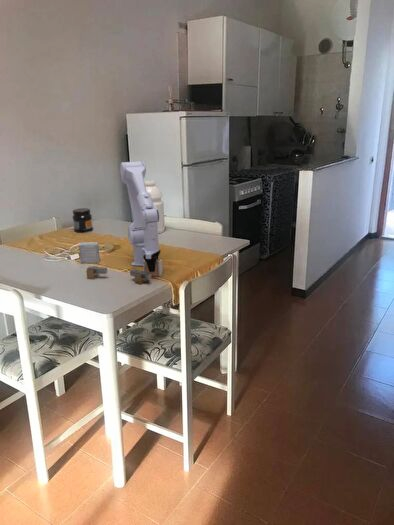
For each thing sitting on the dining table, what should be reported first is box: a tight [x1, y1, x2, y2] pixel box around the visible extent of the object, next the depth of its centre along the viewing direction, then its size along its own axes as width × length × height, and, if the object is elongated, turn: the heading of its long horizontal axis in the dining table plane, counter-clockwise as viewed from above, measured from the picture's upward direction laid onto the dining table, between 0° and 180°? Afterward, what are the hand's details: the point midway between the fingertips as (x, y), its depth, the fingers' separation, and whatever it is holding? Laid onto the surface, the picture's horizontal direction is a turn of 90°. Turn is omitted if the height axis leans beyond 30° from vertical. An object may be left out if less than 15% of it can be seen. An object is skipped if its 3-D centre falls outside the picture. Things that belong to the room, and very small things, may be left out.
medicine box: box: [78, 241, 101, 264], centre depth 191 cm, size 8×4×9 cm, turn 92°
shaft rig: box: [86, 265, 152, 285], centre depth 171 cm, size 7×28×4 cm, turn 77°
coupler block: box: [142, 258, 164, 277], centre depth 175 cm, size 4×7×6 cm, turn 77°
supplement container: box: [72, 207, 94, 234], centre depth 241 cm, size 10×10×12 cm
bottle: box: [138, 179, 166, 235], centre depth 233 cm, size 14×14×28 cm
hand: (153, 269), depth 176 cm, fingers closed on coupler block, 4 cm apart
